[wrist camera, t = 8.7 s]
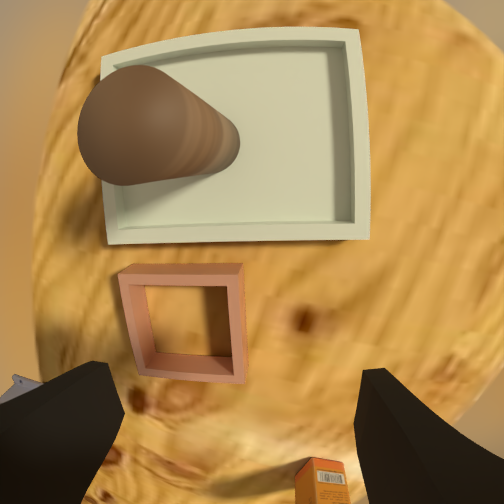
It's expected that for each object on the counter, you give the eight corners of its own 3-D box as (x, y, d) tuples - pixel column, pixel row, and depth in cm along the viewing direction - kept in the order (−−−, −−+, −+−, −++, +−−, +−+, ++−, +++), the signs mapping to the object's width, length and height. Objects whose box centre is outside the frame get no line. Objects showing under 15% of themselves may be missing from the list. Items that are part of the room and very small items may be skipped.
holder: (149, 358, 20) (139, 374, 18) (132, 263, 18) (117, 274, 17) (248, 365, 19) (244, 383, 18) (243, 263, 18) (238, 274, 16)
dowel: (181, 175, 16) (80, 191, 8) (179, 116, 15) (78, 80, 7) (241, 172, 16) (188, 181, 7) (239, 111, 15) (185, 54, 6)
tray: (121, 238, 18) (108, 244, 17) (114, 63, 15) (101, 56, 14) (362, 233, 17) (369, 239, 15) (352, 40, 14) (358, 29, 12)
